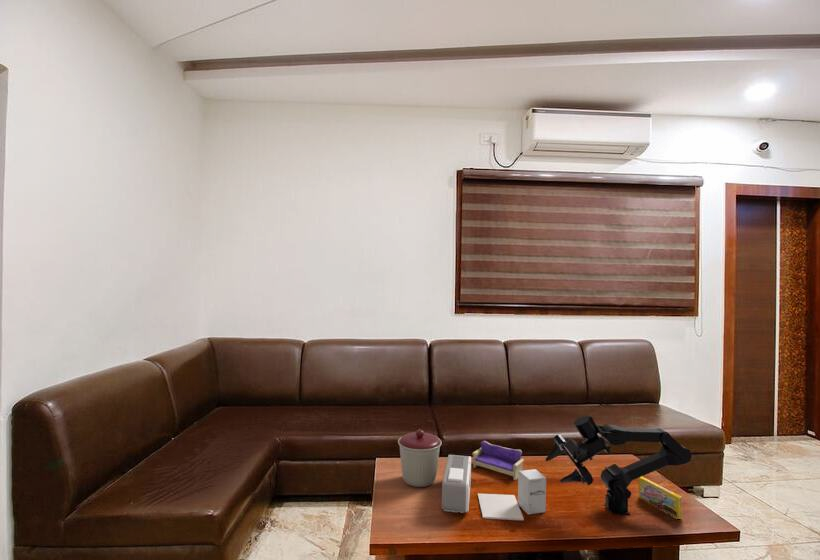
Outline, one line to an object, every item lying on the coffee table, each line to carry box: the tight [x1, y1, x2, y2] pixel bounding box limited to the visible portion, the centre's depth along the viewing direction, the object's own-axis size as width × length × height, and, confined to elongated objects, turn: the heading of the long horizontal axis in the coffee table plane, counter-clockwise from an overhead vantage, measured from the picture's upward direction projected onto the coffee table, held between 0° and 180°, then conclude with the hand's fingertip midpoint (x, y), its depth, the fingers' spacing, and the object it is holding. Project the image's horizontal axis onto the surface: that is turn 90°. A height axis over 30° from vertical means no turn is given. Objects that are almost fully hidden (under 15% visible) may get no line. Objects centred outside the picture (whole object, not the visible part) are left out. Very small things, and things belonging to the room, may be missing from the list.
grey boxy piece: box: [441, 454, 472, 514], centre depth 155 cm, size 27×9×12 cm, turn 170°
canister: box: [397, 429, 443, 488], centre depth 167 cm, size 18×18×21 cm
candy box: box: [638, 476, 683, 520], centre depth 150 cm, size 16×2×8 cm, turn 20°
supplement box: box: [517, 468, 547, 516], centre depth 148 cm, size 7×7×13 cm
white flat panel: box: [477, 492, 525, 521], centre depth 148 cm, size 14×16×1 cm
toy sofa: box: [471, 440, 525, 481], centre depth 178 cm, size 21×9×10 cm, turn 53°
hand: (552, 470), depth 148 cm, fingers open, 9 cm apart
